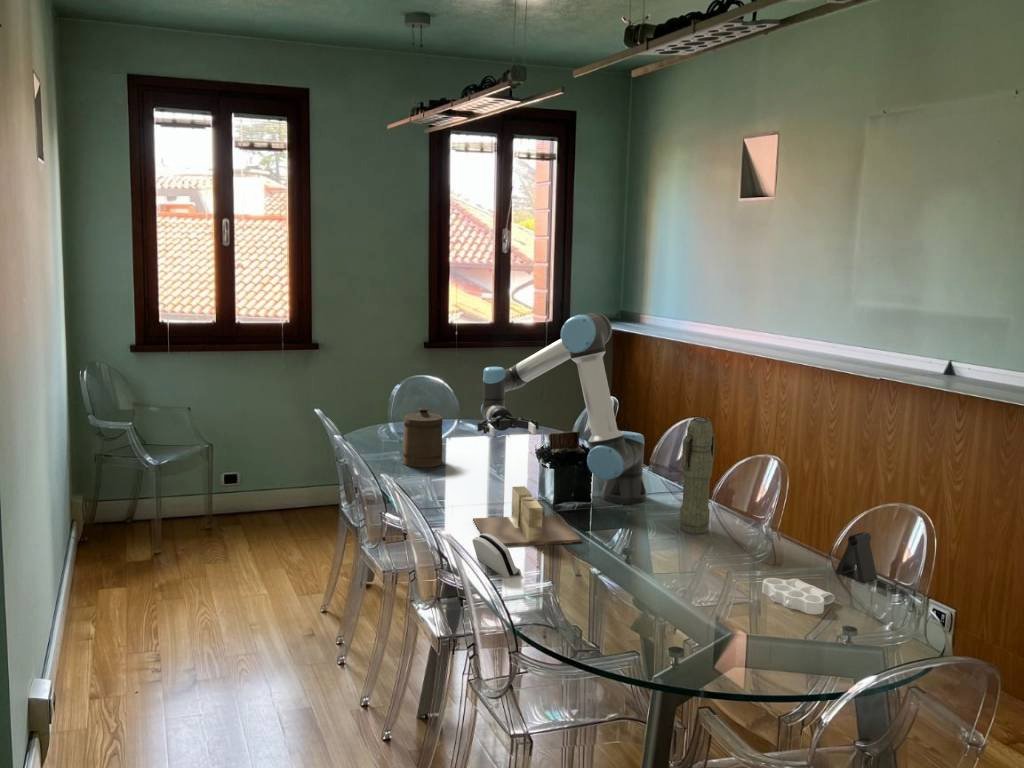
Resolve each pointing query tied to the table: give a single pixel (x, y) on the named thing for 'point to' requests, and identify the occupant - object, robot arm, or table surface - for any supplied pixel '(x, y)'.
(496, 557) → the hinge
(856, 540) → the phone stand
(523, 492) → the tan wooden brick
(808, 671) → the table surface
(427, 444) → the wooden container
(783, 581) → the white egg tray
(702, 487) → the stone statue
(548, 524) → the mounting board
